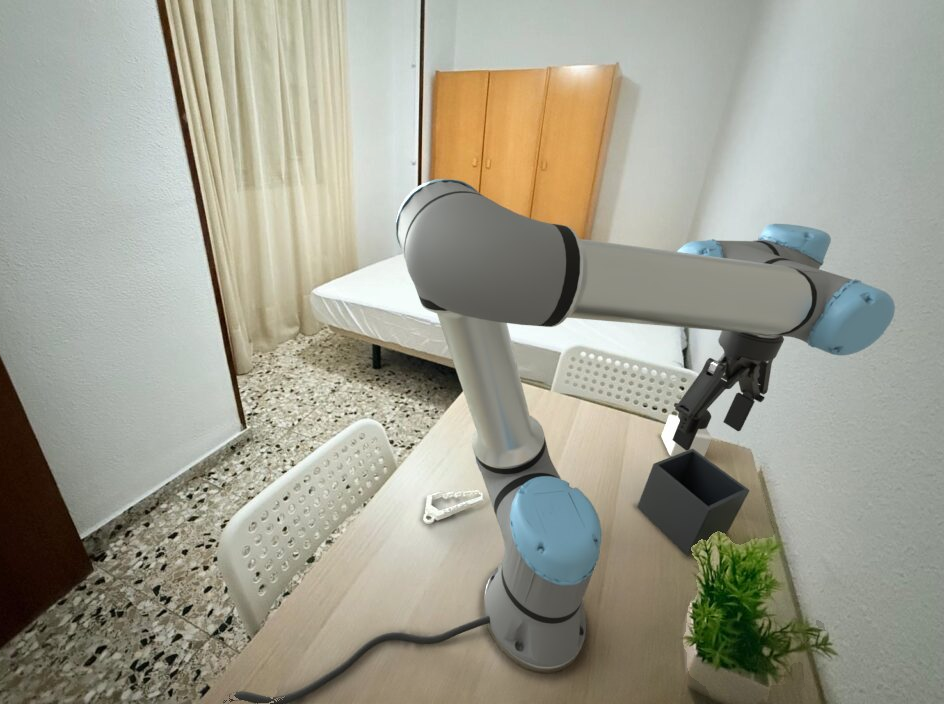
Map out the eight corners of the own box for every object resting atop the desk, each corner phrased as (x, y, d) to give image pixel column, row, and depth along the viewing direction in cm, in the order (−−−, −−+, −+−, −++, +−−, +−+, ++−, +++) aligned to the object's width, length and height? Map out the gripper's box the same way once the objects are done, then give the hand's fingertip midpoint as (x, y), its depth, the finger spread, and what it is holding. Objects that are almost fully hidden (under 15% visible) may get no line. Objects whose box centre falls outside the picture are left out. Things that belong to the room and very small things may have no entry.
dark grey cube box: (686, 556, 72) (636, 507, 81) (726, 535, 76) (674, 491, 85) (709, 510, 67) (653, 463, 76) (750, 490, 71) (692, 448, 80)
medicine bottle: (702, 462, 93) (721, 421, 88) (669, 456, 94) (685, 416, 89) (691, 441, 100) (707, 402, 94) (660, 436, 101) (675, 397, 96)
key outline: (473, 485, 85) (473, 479, 84) (485, 503, 81) (486, 497, 80) (416, 504, 80) (416, 498, 79) (425, 525, 76) (426, 519, 75)
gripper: (726, 353, 54) (677, 469, 63) (829, 327, 63) (772, 432, 72) (676, 328, 60) (638, 438, 69) (776, 308, 69) (731, 407, 78)
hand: (707, 435), depth 71 cm, fingers open, 13 cm apart
